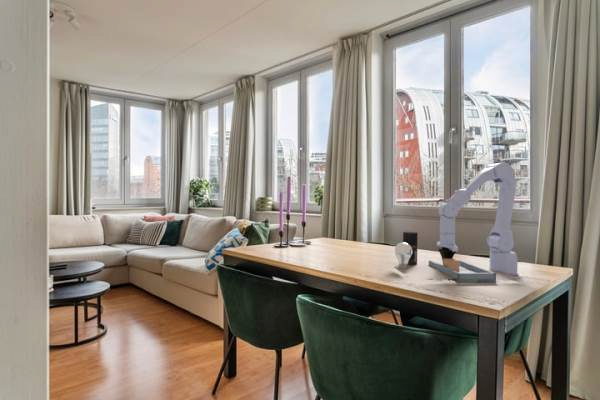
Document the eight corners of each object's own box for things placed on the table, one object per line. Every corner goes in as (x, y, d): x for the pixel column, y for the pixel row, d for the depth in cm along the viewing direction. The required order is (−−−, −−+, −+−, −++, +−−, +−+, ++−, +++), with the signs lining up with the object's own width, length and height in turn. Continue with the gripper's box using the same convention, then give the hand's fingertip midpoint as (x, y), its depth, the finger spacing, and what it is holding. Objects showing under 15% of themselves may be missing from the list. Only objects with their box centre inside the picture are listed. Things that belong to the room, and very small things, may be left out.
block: (453, 269, 150) (454, 258, 150) (459, 272, 146) (459, 260, 145) (442, 269, 150) (443, 258, 150) (447, 272, 145) (448, 260, 145)
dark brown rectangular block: (414, 269, 158) (415, 233, 158) (400, 267, 161) (401, 232, 161) (418, 266, 163) (419, 232, 163) (405, 265, 166) (405, 231, 166)
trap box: (460, 268, 161) (460, 260, 161) (496, 283, 135) (496, 273, 135) (428, 268, 160) (428, 260, 160) (457, 283, 134) (458, 273, 134)
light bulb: (393, 272, 151) (393, 242, 151) (395, 269, 158) (395, 240, 157) (411, 274, 149) (411, 243, 148) (412, 270, 155) (413, 241, 155)
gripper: (430, 231, 158) (429, 263, 159) (445, 234, 144) (445, 270, 144) (446, 231, 159) (446, 263, 159) (463, 235, 144) (463, 270, 144)
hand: (446, 266), depth 152 cm, fingers closed
